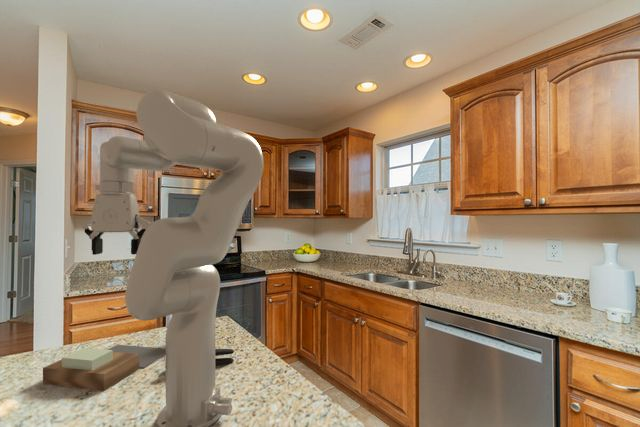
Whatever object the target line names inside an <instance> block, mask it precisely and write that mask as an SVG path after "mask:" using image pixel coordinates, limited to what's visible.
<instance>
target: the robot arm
mask: <svg viewBox="0 0 640 427" xmlns="http://www.w3.org/2000/svg"><path fill="white" fill-rule="evenodd" d="M136 121H137V123H138V124H137V125H138V126H139V128H140V129H141V131H142V132H143V140H142V139H137V138H131V137H127V136H120V135H115V136H112V137H110V138H109V139H108V141H105V142H102V143H101V145H100V148H99V182H98V184H95V185H94V186H95V187H94V188H95V190H96V191H98V192H99V193H96V194H95V197H94V201H93V204H92V206H93V207H92V212H91V217H89V218H88V219H85V220H84V221H82V222H81V223H80V225H81V226H82V228H83V230H84V233H85V234H86V235H87V236H88V238H89V240H91V252H92V255H94V256H96V255H100V254H103V248H104V247H103V246H104V243H103V238H101V237H102V236H103V235H104V234H105V233H129V234H130V236H131V237H132V238H133V239H131V240H130V254H131V255H135V257H134V260H133V264H132V267H131V270H130V272H129V276H128V279H127V283H126V286H125V295H124V301H125V307H126V309H127V311H128V314H130V316H131V317H132V318H134V319H136V320H139V321H151V320H152V321H153V320H156V319H159V318H160V319H161V318H163V317H167V316H171V315H172V316H171V318H170V320H169V322H168V324H167V329H166V332H165V349H166V355H165V366H166V368H165V406H164V407H163V408H162V409H161V410H160V411H159V412H158V414H157V419H156V423H157V424H156V425H157V427H211V425H213V424H214V423H216V422H217V420H218V419H219V418H221V416H230V415H231V413H232V410H233V405H232V403H233V402H232V401H233V399H232V397H222V395H221V388H220V387H217V386H216V366H215V359H216V356H215V349H216V319H217V318H216V317H217V316H216V315H217V306H218V300H219V296H220V292H221V278H220V273H219V271H218V269H217V268H216V267H215V266H214V265H215V264H218V263H220V262H221V261H223V260H224V258H225V256H227V254H228V252H229V250H230V247H231V245H232V242H233V240H234V237H235V234H236V232H237V230H238V228H239V226H240V223H241V221H242V218H243V215H244V213H245V211H246V209H247V207H248V204H249V202H250V200H251V199H252V198H253V195H254V194H255V192H256V190H257V189H258V187H259V184H260V182H261V179H262V177H263V173H264V166H265V165H264V164H265V163H264V155H263V152H262V148H261V146H260V145H259V143H258V142H257V140H256V139H255V138H254V137H253V136H251V135H250V134H248V133H246V132H244V131H242V130H241V129H236V128H234V127H232V126H228V125H225V124H221V123H218V122H217V119H216V116H215V115H214V113H213V111H212V110H211V109H210V108H209V107H207V106H206V105H205V104H203V103H201V102H199V101H196V100H194V99H191V98H188V97H185V96H182V95H179V94H175V93H173V92H170V91H167V90H164V89H152V90H150V91H148V92H146V93H145V94H143V96H142V97H141V98H140V100H139V102H138V103H137V107H136ZM177 164H178V165H180V166H185V167H191V168H199V169H205V170H206V169H207V170H213V171H220V172H221V173H220V175H219V176H217V178H215V179H214V180H213V181H211V182H210V183H209V184H208V185H207V186H206V187H205V189H204V190H203V191H202V192H201V195H200V196H199V198H198V201H197V205H196V207H195V210H194V211H193V213H192V214H191V215H189V216H186V217H183V216H182V217H178V216H177V217H164V218H163V217H162V218H160V219H157V220H155V221H153V222H151V221H150V220H147V219H145V218H143V217H141V216H140V211H139V203H138V199H137V194H134V188H135V187H134V186H135V185H134V181H135V178H134V171H135V170H143V171H151V172H160V171H164V170H165V171H166V170H168V169H170V168H173V167H175V166H176V165H177ZM134 169H135V170H134ZM140 224H141V225H142V228H141V229H140ZM139 229H140V230H139Z"/></svg>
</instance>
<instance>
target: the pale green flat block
mask: <svg viewBox="0 0 640 427" xmlns="http://www.w3.org/2000/svg"><path fill="white" fill-rule="evenodd" d="M61 359H62V367H63V368H72V369H82V370H94V369H96V368H98V367H100V366H102V365H103V364H105V363H107V362H109V361H111V360H113V350H108V349H103V348H91V347H90V348H89V347H82V348H81V349H78V350H76V351H74V352H71V353H69V354H67V355H65V356H62V357H61Z"/></svg>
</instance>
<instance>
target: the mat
mask: <svg viewBox="0 0 640 427" xmlns="http://www.w3.org/2000/svg"><path fill="white" fill-rule="evenodd" d="M107 350H113V352H120V353H131V354H139V369H145V367H146V368H147V367H148V366H150V365H152V364H153V363H155V362H157V361H158V360H160V359H161V358H163V357H164V356H166V347H165V348H164V347H152V346H139V345H126V344H115V345H113V346H112V347H110V348H108V349H107Z"/></svg>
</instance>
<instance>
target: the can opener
mask: <svg viewBox="0 0 640 427" xmlns="http://www.w3.org/2000/svg"><path fill="white" fill-rule="evenodd" d="M234 353H235V350H234V349H232V348H215V367H217V366H225V365H228V364H229V365H230V364H231V363H233V362H234V358H232V357H218V356H226V355H232V354H234ZM217 357H218V358H217ZM164 368H165V369H166V365H165V366H164Z"/></svg>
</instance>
